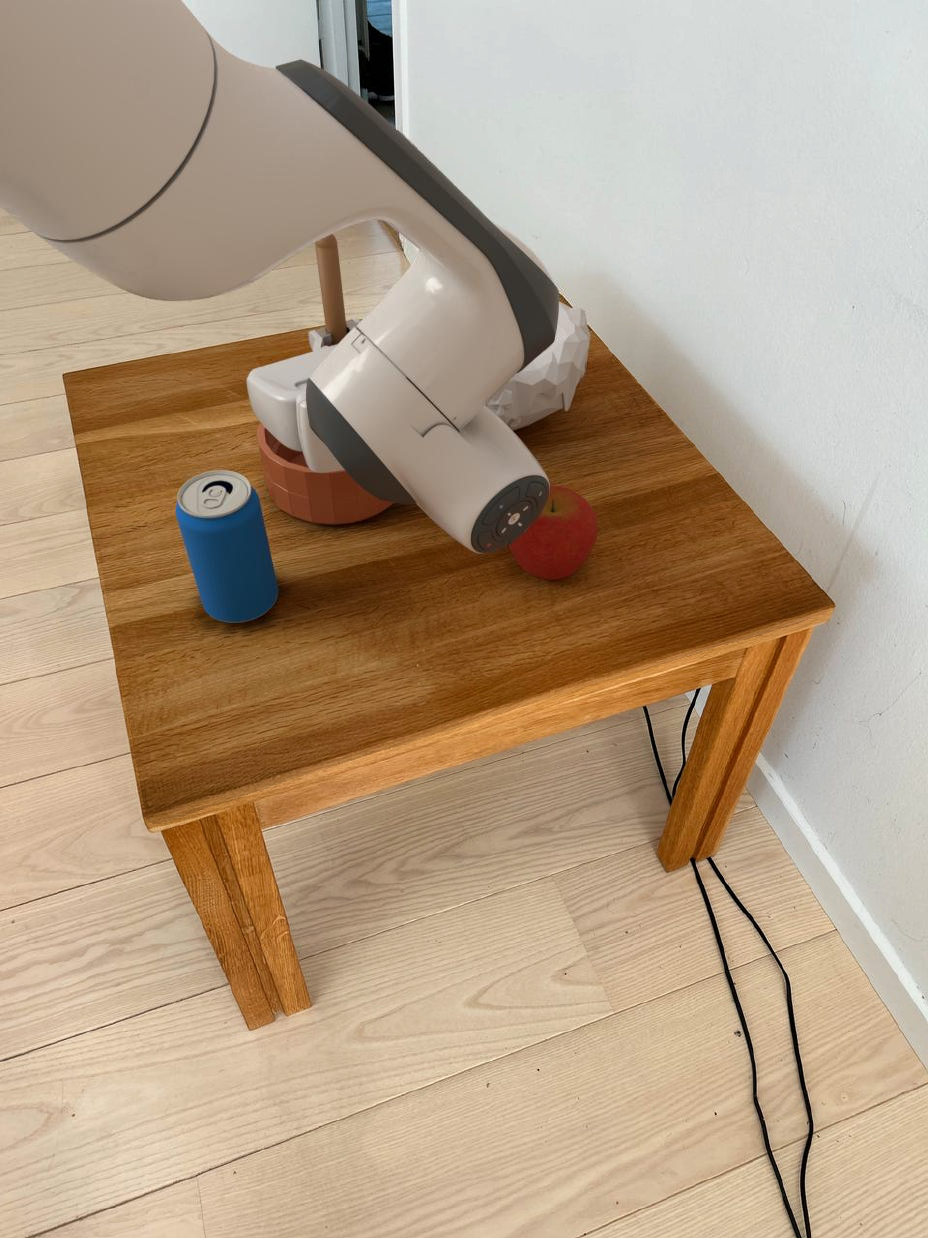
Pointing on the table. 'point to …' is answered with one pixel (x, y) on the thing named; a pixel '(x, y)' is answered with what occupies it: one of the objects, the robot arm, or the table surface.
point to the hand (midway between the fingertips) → (332, 331)
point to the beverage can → (227, 545)
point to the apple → (557, 536)
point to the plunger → (331, 287)
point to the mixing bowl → (312, 487)
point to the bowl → (547, 375)
